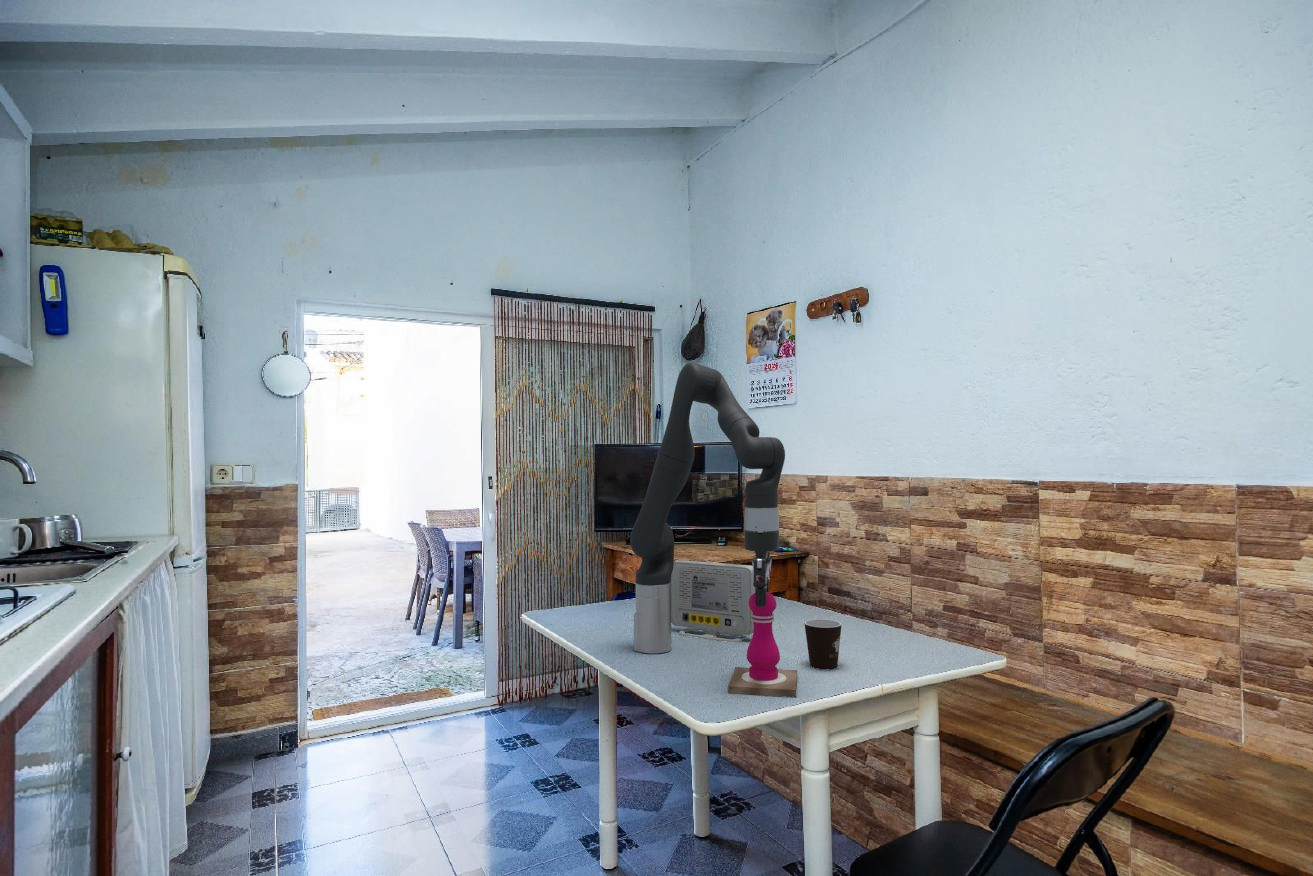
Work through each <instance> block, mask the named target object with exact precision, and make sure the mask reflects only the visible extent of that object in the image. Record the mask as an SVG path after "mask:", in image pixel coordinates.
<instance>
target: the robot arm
mask: <svg viewBox="0 0 1313 876" xmlns="http://www.w3.org/2000/svg"><path fill="white" fill-rule="evenodd" d="M674 387H675V388H674V392H673V396H672V403H671V407H670V412H669V414H668V415H669V417H668V421H667V424H666V428H665V431H664V434H663V437H662V440H661V443H660V447H659V449H658V452H657V456H656V460H655V463H654V466H653V469H652V473H651V476H650V481H649V483H648V487H647V489H646V494H645V497H644V499H643V503H642V505H641V508H640V510H639V513H638V516H637V518H636V520H635V522H634V525H633V527H632V528H631V529H632V530H631V533H630V541H629V542H630V547H631V550H632V552H633V553H634V554H635V555H636V556H637V557H638V558H641V561H640V562H641V563H640V565H639V568H638V569H637V570H636V572H635V578H634V579H635V612H634V613H633V651H634V652H639V653H644V654H663V653H668V652H670V651H671V650H672V649H673V648H672V645H673V644H672V642H673V641H672V640H673V639H672V623H671V574H672V572H673V566H674V562H675V561H674V560H675V559H674V558H675V538H674V532H673V530H672V528H671V526H670V525H669V524H668V523H667V519H668V516H669V512H670V510H671V508H672V506H673V504H674V503H675V501H676V499H677V498H678V496H679V495H680V493H681V492H682V490H683V488H684V487H685V485H686V483H687V481H688V479H689V476H690V473H691V470H692V468H693V467H692V466H693V463H694V460H695V455H696V453H695V452H696V451H695V445H694V440H693V436H692V432H691V427H690V415H691V410H692V406H693V403H694V402H695V403H698V404H699V403H701V404H706V405H709V406H711V407H712V408H713V409H714V410H715V411H717V423H718V426H719V428H720V430H721V431H722V432H723V434H724V435H725V436H726V438H727V440H729V441H730V442H731V444H732V445H731V446H732V448H733V450H734V454H735V457H736V461H737V462H738V463H739V465H740V466H742V467H743V468H745V469H748V470H761V473H760V475H759V476H758V478H756V479H752V480H750V481H748V482H746V484H745V487H744V488H745V490H744V491H745V492H744V495H745V499H744V500H745V504H744V506H745V507H744V508H745V509H744V518H743V521H744V527H743V529H744V531H743V532H744V533H743V534H744V537H743V539H744V543H743V544H744V549H745V550H746V551H748V552H749V551H750V552H755V557H753V558H752V560H751V566H753V579H754V583H753V585H754V587H755V605H756V606H757V607H765V606H766V592H769V593H770V590H769V589H770V588H769V585H770V583H769V582H770V580H771V578H770V577H771V575H772V574H771V573H772V568H771V567H772V561H773V560H772V557H771V556H770V555H771V552H775V551H778V550H779V549H780V517H779V516H780V515H779V509H778V508H779V507H778V502H779V501H778V488H779V485H780V481H781V476H782V473H783V472H782V471H783V467H784V465H785V460H786V450H785V447H784V444H783V442H782V441H781V440H780V439H779V438H777V437H773V436H766V437H765V436H763V437H762V436H760V433H761V432H760V428H759V426H758V424H757V423H756V422H755V421H754V420H753V419H752V418H751V417H750V415H749V414H748V412H746V410H744V409H743V407H742V406H741V405H740V403H739V402H738V400H737V398H736V397H735V395H734V393H733V391H732V390H731V388H730V386H729V385H728V382H727V379H725V377H724V375H722V373H721V372H720V371H719V370H717V369H714V368H712V367H709V366H705V365H702V364H699V363H695V362H688V363H685V365H684V366H683V367H682V368H681V370H680V372H679V374H678V376H677V379H676V383H675V386H674Z"/></svg>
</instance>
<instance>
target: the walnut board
mask: <svg viewBox="0 0 1313 876" xmlns="http://www.w3.org/2000/svg"><path fill="white" fill-rule="evenodd" d="M749 668H750V667H746V666H745V667H744V666H743V667H741V666H740V667H739V666H734V670H733V672H732V675H731V677H730V680H729V682H728V685H727V694H733V693H734V694H733V695H735V694H737V695H753V696H767V697H770V696H771V697H783V696H787V698H796V697H797V687H798V686H797V685H798V670H797V669H783V668H782V669H780V668H779V669H778V668H777V669H778V677H777V679H774V680H769V681H760V680H755V679H752V678H750V676H749ZM788 696H790V697H788ZM792 696H793V697H792Z"/></svg>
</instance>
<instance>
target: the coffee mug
mask: <svg viewBox="0 0 1313 876" xmlns="http://www.w3.org/2000/svg"><path fill="white" fill-rule="evenodd" d="M842 625H843V624H842V623H841V622H840V621H838V620H835V619H824V618H823V619H822V618H818V619H817V618H816V619H808V620H806V621H804V631H805V639H806V644H807V645H806V646H807V652H808V654H807V655H808V661H809V666H810V667H811V666H812V667H811V668H813V667H814V669H816V668H819V669H818V670H822V669H830V670H834V668H835V669H837V668H838V666H839V665H838V664H839V654H840V643H841V635H842Z"/></svg>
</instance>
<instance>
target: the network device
mask: <svg viewBox="0 0 1313 876" xmlns="http://www.w3.org/2000/svg"><path fill="white" fill-rule="evenodd" d="M753 583H754V579H753V566H752V565H750V564H749V565H747V564H734V563H723V562H721V563H720V562H709V561H695V560H681V559H680V560H676V561H674V566H673V572H672V574H671V625H672V626H675V627H680V628H684V629H682V630H679V635H680V636H681V635H683V636H682V637H686V636H692V637H691V638H693V637H698V638H697V639H700V638H703V640H707V639H709V641H714V640H716V641H715V642H721V641H727V642H726V643H728V642H736V643H739V642H738V641H740V642H742V640H743V641H745V640H746V639H747V638H748V636H750V635H753V628H754V626H753V621H752V620H751V618H752V616H751V614H752V613H753V612H752V611H751V610H750V608H749V599H750V597H751V595H752V594H754V593H755V587H754V585H753ZM690 630H692V631H698V630H702V631H701V632H706V631H707V632H706V633H705V634H695V633H694V634H693V633H689V632H691V631H690ZM684 632H687V633H684ZM720 634H722V635H728V634H731V635H730V636H735V635H736V637H737V638H734V639H728V638H723V637H719V636H721V635H720ZM715 636H717V637H715ZM744 639H745V640H744Z"/></svg>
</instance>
